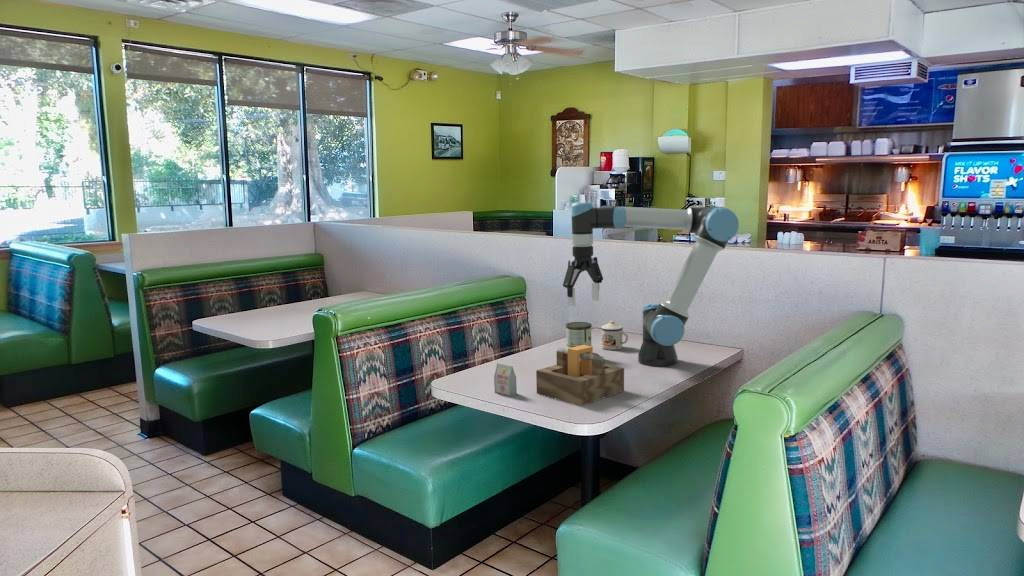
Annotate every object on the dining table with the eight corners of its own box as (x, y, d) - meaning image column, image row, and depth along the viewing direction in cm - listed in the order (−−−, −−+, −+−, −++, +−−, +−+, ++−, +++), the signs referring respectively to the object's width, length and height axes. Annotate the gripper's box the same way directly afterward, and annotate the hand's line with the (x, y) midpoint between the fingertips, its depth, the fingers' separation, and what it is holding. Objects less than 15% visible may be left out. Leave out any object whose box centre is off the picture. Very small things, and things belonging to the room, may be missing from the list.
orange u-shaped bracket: (583, 373, 242) (583, 344, 241) (592, 375, 239) (592, 346, 238) (567, 377, 237) (567, 348, 235) (576, 379, 234) (576, 350, 232)
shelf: (579, 379, 253) (579, 341, 251) (624, 390, 239) (624, 350, 237) (536, 393, 239) (535, 353, 236) (581, 406, 224) (580, 363, 222)
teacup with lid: (597, 348, 298) (597, 321, 296) (607, 344, 305) (607, 318, 303) (622, 352, 291) (622, 324, 289) (632, 347, 298) (632, 320, 296)
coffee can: (566, 355, 288) (565, 321, 286) (591, 355, 287) (591, 321, 285) (565, 361, 278) (565, 327, 276) (592, 361, 277) (591, 327, 275)
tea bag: (501, 390, 243) (501, 362, 242) (516, 393, 239) (515, 365, 237) (494, 392, 241) (493, 364, 239) (509, 396, 236) (508, 367, 235)
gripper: (596, 241, 266) (597, 297, 270) (552, 248, 249) (553, 307, 253) (612, 242, 261) (612, 298, 264) (568, 249, 244) (569, 309, 247)
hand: (583, 303), depth 258 cm, fingers open, 13 cm apart
